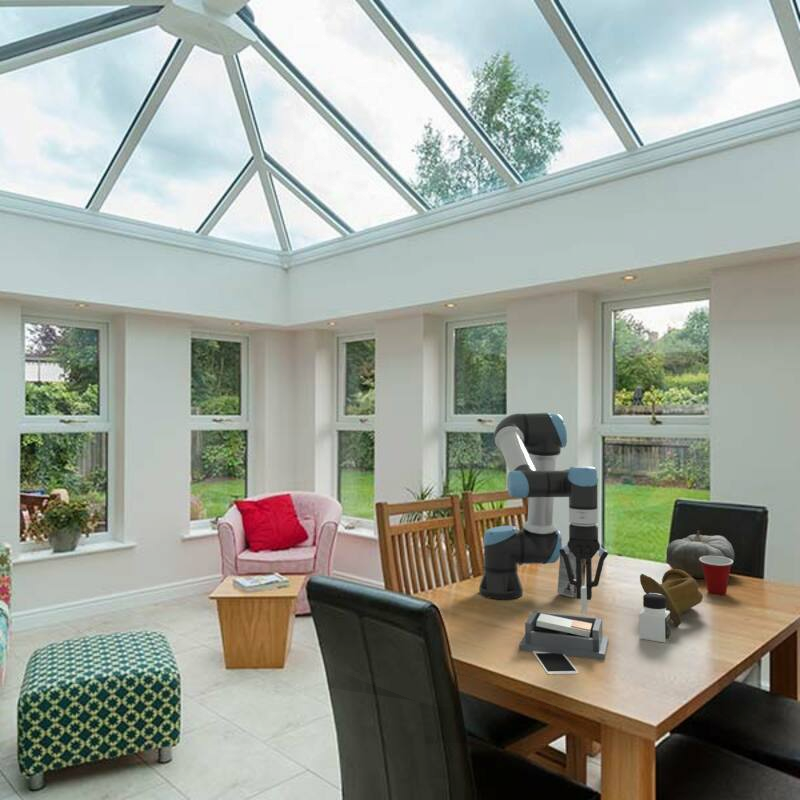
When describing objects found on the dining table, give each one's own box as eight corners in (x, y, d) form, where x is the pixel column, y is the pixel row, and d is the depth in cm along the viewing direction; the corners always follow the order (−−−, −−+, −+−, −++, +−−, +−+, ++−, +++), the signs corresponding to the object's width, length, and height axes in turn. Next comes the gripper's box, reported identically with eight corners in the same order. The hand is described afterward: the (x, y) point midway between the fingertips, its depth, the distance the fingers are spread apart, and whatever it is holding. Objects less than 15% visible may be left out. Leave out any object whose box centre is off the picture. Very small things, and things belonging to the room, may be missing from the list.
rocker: (536, 625, 181) (536, 619, 181) (540, 618, 187) (541, 612, 187) (589, 637, 176) (590, 630, 176) (591, 629, 182) (592, 622, 182)
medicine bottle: (666, 643, 183) (665, 599, 184) (639, 638, 187) (638, 595, 187) (670, 636, 189) (670, 593, 190) (644, 631, 193) (644, 590, 193)
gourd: (748, 567, 261) (739, 524, 261) (724, 589, 244) (714, 543, 244) (685, 564, 280) (677, 523, 279) (659, 584, 263) (650, 541, 262)
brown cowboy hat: (603, 584, 212) (656, 559, 227) (622, 635, 209) (674, 606, 224) (661, 575, 193) (714, 548, 208) (683, 631, 190) (736, 600, 205)
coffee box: (567, 588, 240) (570, 543, 240) (584, 592, 236) (588, 547, 236) (556, 593, 233) (560, 548, 232) (573, 598, 229) (577, 552, 228)
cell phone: (561, 652, 178) (561, 650, 178) (579, 675, 162) (579, 673, 162) (532, 653, 178) (532, 650, 178) (547, 676, 162) (547, 673, 162)
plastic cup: (700, 595, 231) (699, 560, 231) (699, 588, 241) (698, 554, 241) (735, 598, 227) (734, 563, 227) (732, 590, 237) (732, 556, 237)
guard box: (519, 649, 179) (518, 623, 179) (528, 633, 192) (528, 609, 192) (604, 660, 171) (604, 632, 171) (608, 642, 184) (608, 617, 184)
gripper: (556, 524, 179) (557, 612, 179) (607, 527, 175) (608, 618, 174) (560, 520, 186) (561, 605, 186) (609, 522, 182) (610, 609, 181)
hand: (584, 611), depth 180 cm, fingers closed
